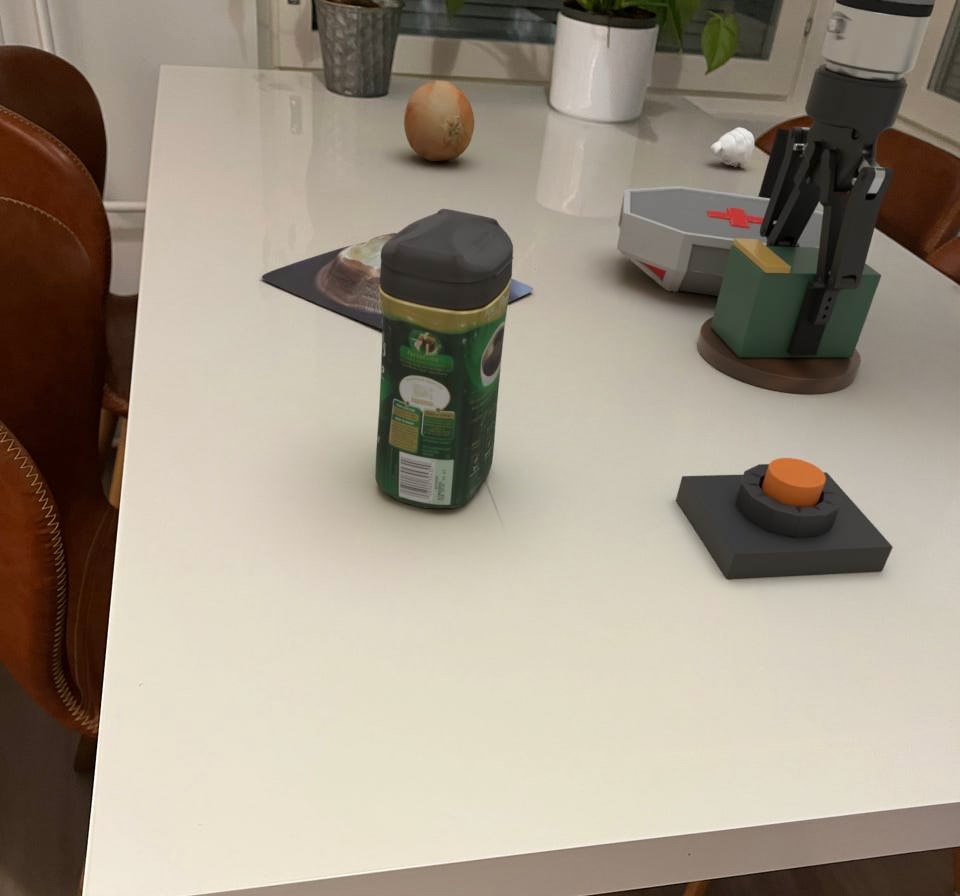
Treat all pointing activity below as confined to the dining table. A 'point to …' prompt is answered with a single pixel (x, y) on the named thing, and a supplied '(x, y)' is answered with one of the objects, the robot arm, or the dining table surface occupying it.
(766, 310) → the box
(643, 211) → the first aid kit
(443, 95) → the onion
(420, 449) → the coffee jar
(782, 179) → the robot arm
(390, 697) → the dining table surface
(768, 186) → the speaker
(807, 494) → the button
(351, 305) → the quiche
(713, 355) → the turntable base
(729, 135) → the garlic bulb
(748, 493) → the button block
